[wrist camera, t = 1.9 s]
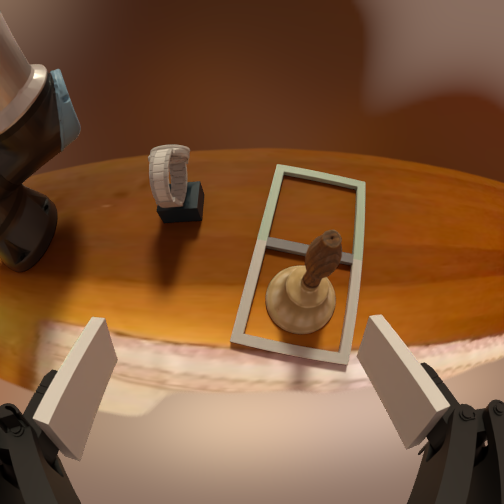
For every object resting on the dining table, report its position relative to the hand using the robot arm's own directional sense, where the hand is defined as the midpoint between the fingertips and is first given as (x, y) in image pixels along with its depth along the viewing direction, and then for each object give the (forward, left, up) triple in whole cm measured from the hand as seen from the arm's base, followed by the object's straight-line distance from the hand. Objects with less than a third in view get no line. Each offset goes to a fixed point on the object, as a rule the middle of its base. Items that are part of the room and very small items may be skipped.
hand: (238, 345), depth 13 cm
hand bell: (+4, +8, -18) cm, 20 cm away
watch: (-14, +17, -18) cm, 29 cm away
